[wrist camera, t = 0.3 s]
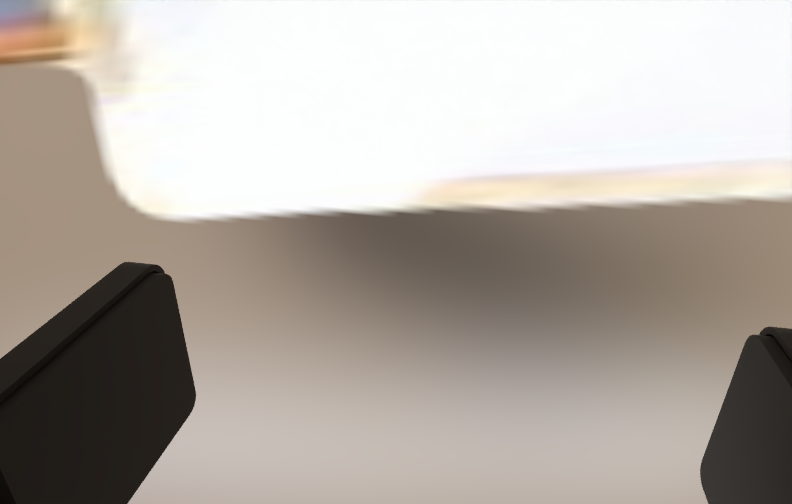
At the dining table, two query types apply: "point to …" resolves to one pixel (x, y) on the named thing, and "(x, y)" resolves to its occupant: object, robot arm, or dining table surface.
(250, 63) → the dining table surface
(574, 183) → the dining table surface
